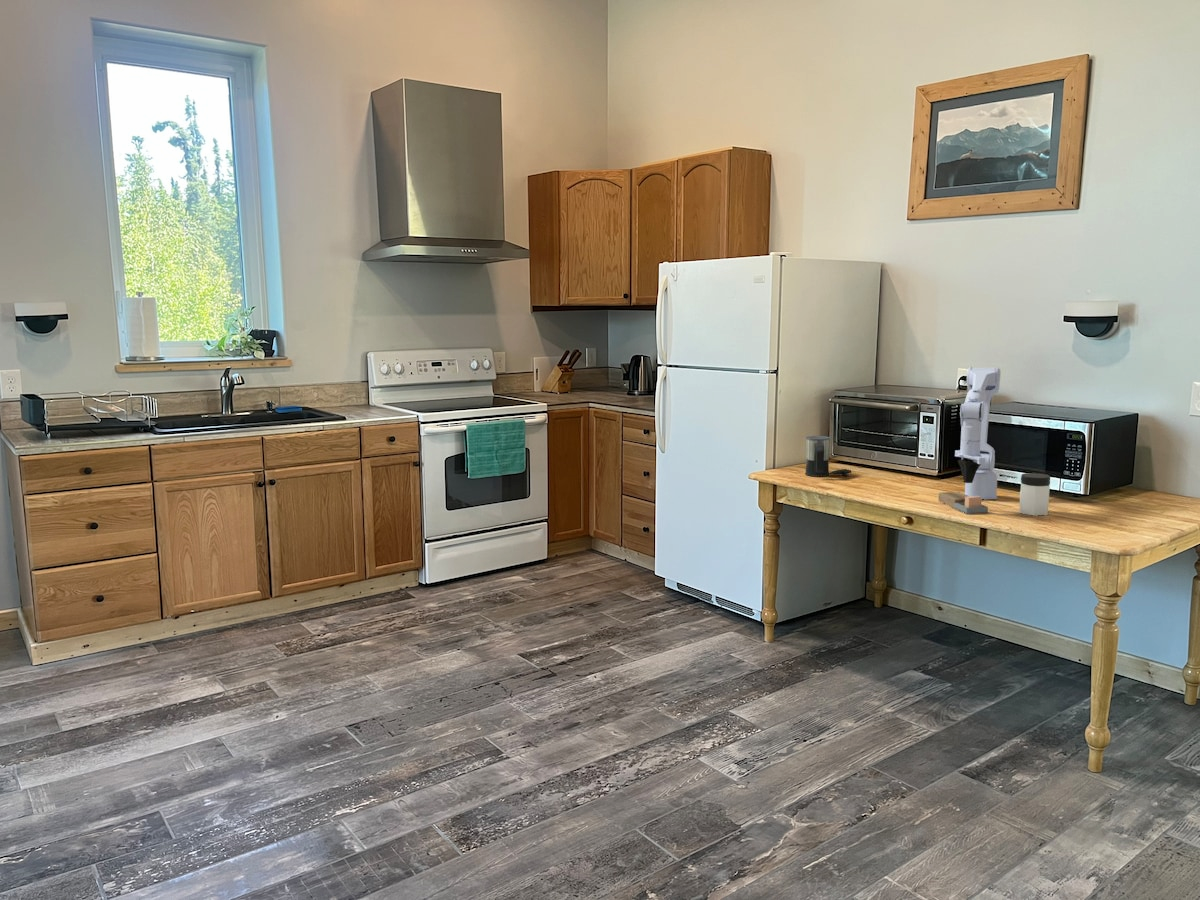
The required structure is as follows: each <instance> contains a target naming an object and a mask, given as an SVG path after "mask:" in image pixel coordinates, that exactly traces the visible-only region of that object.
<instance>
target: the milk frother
mask: <svg viewBox="0 0 1200 900" xmlns="http://www.w3.org/2000/svg"><path fill="white" fill-rule="evenodd" d="M830 438H831V437H829V436H823V435H810V436H805V439H806V443H805V444H806V446H805V447H806V452H805V453H806V454H805V457H806V459H805V473H804V474H805V476H808V475H809V476H808V477H822V476H823V477H828V476H829V475H831V474H832V475H842V476H843V477H846V476H848V474H851V473H852V470H851V469H847V468H842V469H836V470H833V471H830V469H829V467H830V466H829V461H830V460H829V459H830V453H829V452H830Z"/></svg>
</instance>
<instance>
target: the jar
mask: <svg viewBox="0 0 1200 900" xmlns="http://www.w3.org/2000/svg"><path fill="white" fill-rule="evenodd" d="M1050 485H1051V475H1049V474H1045V473H1036V472H1028V473H1026V472H1025V473H1021V476H1020V491H1019V508H1018V509H1019V514H1021V513H1022V514H1021V515H1026V514H1027V516H1031V515H1033V516H1032V517H1039V516H1038V515H1044V516H1048V514H1049V504H1050V503H1049V500H1050V487H1051V486H1050Z"/></svg>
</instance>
